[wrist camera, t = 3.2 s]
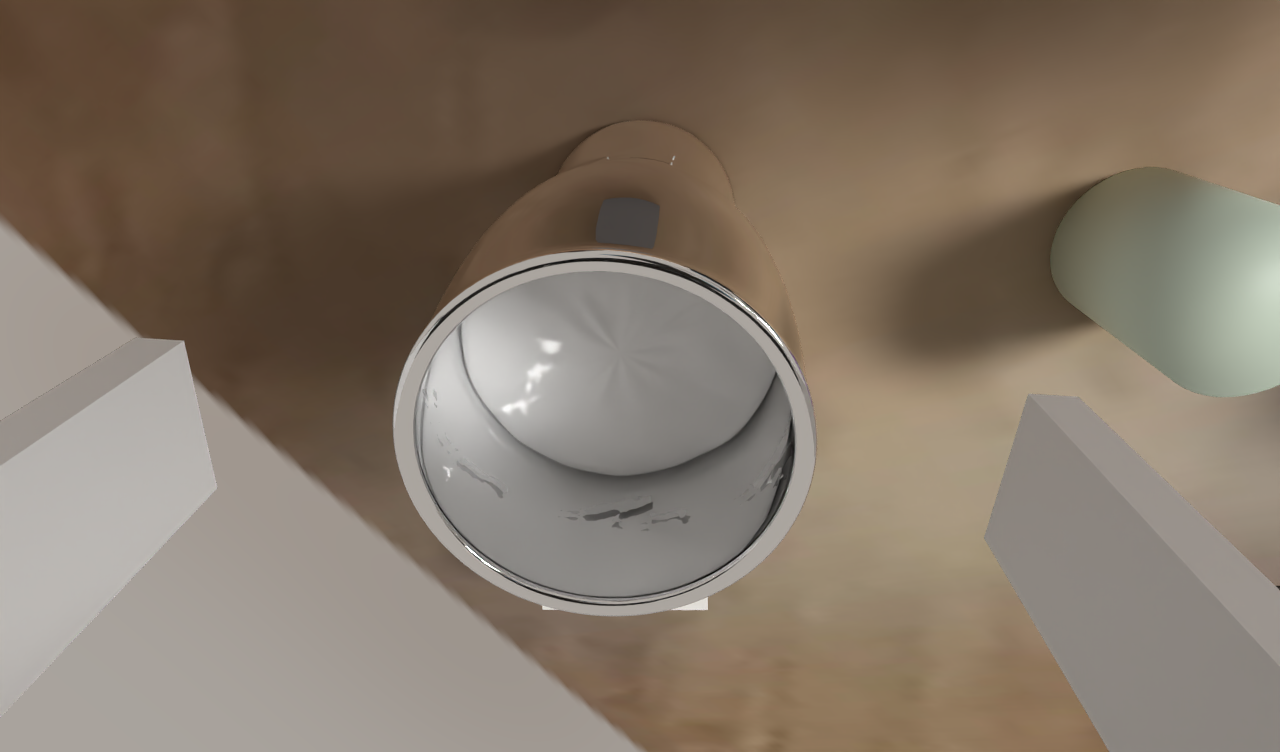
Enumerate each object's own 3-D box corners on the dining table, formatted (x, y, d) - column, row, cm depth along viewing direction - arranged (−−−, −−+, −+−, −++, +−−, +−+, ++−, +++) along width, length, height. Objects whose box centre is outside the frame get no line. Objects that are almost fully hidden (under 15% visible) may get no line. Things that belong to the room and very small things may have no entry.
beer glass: (777, 270, 26) (887, 560, 12) (590, 341, 27) (506, 670, 14) (702, 66, 23) (740, 152, 10) (500, 157, 25) (286, 342, 11)
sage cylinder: (1076, 162, 24) (1192, 208, 19) (1237, 171, 24) (1401, 220, 18) (1032, 311, 26) (1124, 391, 21) (1179, 320, 26) (1311, 402, 21)
